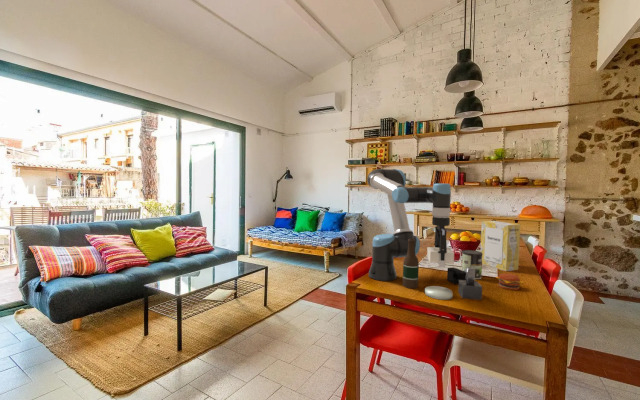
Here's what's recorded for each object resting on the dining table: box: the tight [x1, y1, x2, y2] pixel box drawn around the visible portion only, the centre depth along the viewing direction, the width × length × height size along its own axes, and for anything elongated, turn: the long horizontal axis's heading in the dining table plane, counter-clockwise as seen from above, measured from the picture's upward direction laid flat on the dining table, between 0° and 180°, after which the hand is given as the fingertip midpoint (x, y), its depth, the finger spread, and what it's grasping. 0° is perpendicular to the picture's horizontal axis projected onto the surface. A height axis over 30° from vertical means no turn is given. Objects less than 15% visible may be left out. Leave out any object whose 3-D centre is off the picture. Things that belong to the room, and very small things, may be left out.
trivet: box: [424, 285, 454, 301], centre depth 138 cm, size 12×12×2 cm
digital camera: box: [446, 266, 466, 286], centre depth 155 cm, size 10×5×7 cm, turn 16°
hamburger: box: [495, 273, 524, 291], centre depth 150 cm, size 9×10×7 cm
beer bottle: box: [402, 239, 420, 289], centre depth 149 cm, size 8×8×24 cm
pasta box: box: [480, 220, 521, 272], centre depth 187 cm, size 18×10×28 cm, turn 20°
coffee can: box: [461, 249, 483, 280], centre depth 166 cm, size 10×10×14 cm
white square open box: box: [426, 246, 455, 265], centre depth 137 cm, size 10×10×5 cm
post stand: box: [457, 267, 483, 301], centre depth 137 cm, size 8×8×13 cm
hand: (439, 264), depth 137 cm, fingers closed on white square open box, 10 cm apart
